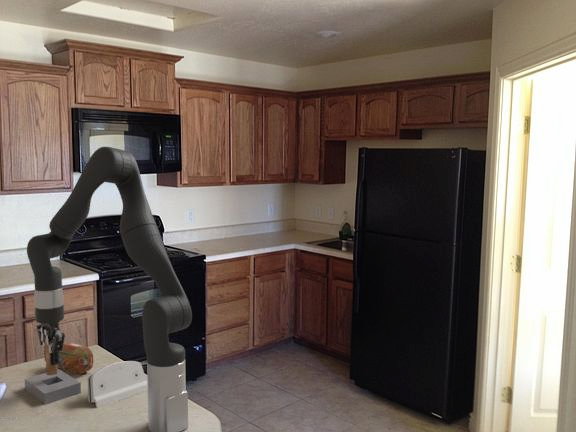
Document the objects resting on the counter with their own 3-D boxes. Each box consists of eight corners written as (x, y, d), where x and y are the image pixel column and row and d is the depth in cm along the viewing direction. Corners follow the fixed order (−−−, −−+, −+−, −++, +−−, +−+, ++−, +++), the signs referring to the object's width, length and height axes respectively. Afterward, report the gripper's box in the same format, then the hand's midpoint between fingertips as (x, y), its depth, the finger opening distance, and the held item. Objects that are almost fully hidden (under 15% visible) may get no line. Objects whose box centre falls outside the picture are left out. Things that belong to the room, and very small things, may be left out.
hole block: (80, 392, 151) (80, 382, 151) (45, 404, 144) (44, 393, 144) (59, 378, 161) (58, 369, 161) (25, 388, 154) (24, 378, 153)
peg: (59, 373, 152) (58, 339, 151) (49, 376, 150) (47, 341, 149) (55, 370, 154) (53, 336, 153) (44, 373, 152) (43, 339, 151)
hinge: (95, 408, 142) (89, 370, 144) (88, 408, 145) (82, 371, 147) (151, 389, 154) (144, 355, 155) (143, 389, 157) (137, 356, 159)
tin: (53, 367, 169) (52, 342, 168) (61, 364, 172) (60, 339, 171) (87, 376, 163) (87, 350, 162) (95, 373, 166) (95, 346, 165)
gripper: (73, 306, 148) (75, 365, 150) (51, 296, 157) (54, 353, 159) (46, 311, 142) (48, 373, 144) (25, 301, 152) (28, 359, 154)
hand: (51, 362), depth 152 cm, fingers closed on peg, 3 cm apart
